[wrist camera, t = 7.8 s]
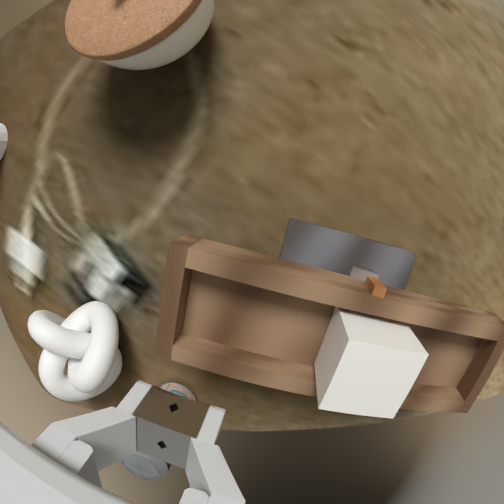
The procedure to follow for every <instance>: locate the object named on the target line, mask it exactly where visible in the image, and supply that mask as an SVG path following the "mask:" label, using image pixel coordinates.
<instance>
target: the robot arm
mask: <svg viewBox="0 0 504 504" xmlns="http://www.w3.org/2000/svg"><path fill="white" fill-rule="evenodd" d="M225 412H226V410H225V409H223V408H219V407H216V406H212V405H211V406H210V405H208V404H205V403H202V402H198V401H195V400H192V399H189V398H186V397H183V396H179V395H177V394H174V393H171V392H169V391H166V390H164V389H161V388H159V387H156V386H153V385H150V384H148V383H146V382H143V381H141V380H139V381H138V382H136V383H135V385H134V386H133V387H132V388H131V390H130V391H129V392H128V394H127V395H126V396H125V397H124V399H123V400H122V401H121V402H120V404H119V405H118V406H117V408H115V407H109V408H105V409H102V410H98V411H95V412H92V413H88V414H84V415H80V416H77V417H73V418H69V419H65V420H61V421H57V422H53V423H52V424H51V425H50V426H49V427H48V428H47V429H46V430H45V431H44V432H43V433H42V434H41V435H40V436H39V437H38V439H36V440H35V442H34V443H33V444H32V445H30V444H28V443H27V442H26V441H24V440H23V439H22V438H20V437H19V436H17V435H16V434H15V433H14V432H12V431H11V430H10V429H9V428H7V427H6V426H5V425H4V424H2V423H1V422H0V504H135V503H133V502H131V501H128V500H126V499H124V498H122V497H119V496H117V495H115V494H113V493H111V492H109V491H107V490H104V489H103V488H102V485H101V481H100V478H99V474H98V471H99V470H102V469H104V468H106V467H108V466H110V465H112V464H114V463H116V462H118V461H120V460H122V459H125V458H127V457H129V456H130V455H132V454H134V453H136V451H138V452H140V453H143V454H146V455H148V456H151V457H154V458H156V459H159V460H162V461H164V462H167V463H170V464H172V465H175V466H178V467H180V468H183V469H186V470H185V471H186V474H187V478H188V481H189V484H190V488H188V489H186V490H185V491H184V493H183V496H182V498H181V500H180V503H179V504H245V499H244V497H243V496H242V493H241V491H240V490H239V488H238V486H237V483H236V481H235V479H234V477H233V476H232V473H231V471H230V469H229V467H228V465H227V463H226V460H225V458H224V456H223V454H222V452H221V450H220V447H219V446H217V445H216V444H217V441H218V437H219V434H220V430H221V426H222V423H223V419H224V416H225Z"/></svg>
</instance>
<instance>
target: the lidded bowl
mask: <svg viewBox="0 0 504 504" xmlns="http://www.w3.org/2000/svg"><path fill="white" fill-rule="evenodd" d="M213 13H214V0H71V2H70V5H69V7H68V10H67V14H66V19H65V32H66V37H67V40H68V42H69V44H70V45H71V46H72V48H73V49H74V50H76V51H77V52H78V53H80V54H82V55H84V56H86V57H89V58H91V59H95V60H98V61H100V62H102V63H104V64H107V65H110V66H113V67H117V68H121V69H127V70H146V69H153V68H157V67H161V66H164V65H167V64H169V63H171V62H173V61H175V60H177V59H179V58H180V57H182V56H183V55H185V54H186V53H187V52H189V51H190V50H191V49H192V48H193V47H194V46H195V45H196V44H197V43H198V42H199V41H200V40H201V39H202V37H203V36H204V35H205V33H206V31H207V29H208V28H209V25H210V23H211V20H212V17H213Z"/></svg>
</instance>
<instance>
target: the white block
mask: <svg viewBox="0 0 504 504" xmlns="http://www.w3.org/2000/svg"><path fill="white" fill-rule="evenodd" d="M428 355H429V354H428V353H427V351H426V350H425V348H424V347H423V346H422V344H421V343H420V341H419V340H418V339H417V337H416V336H415V334H414V333H413V332H412V330H411V329H410V328H409V326H408V325H407V324H406V322H401V321H396V320H392V319H388V318H383V317H379V316H374V315H370V314H366V313H361V312H357V311H353V310H348V309H344V308H340V307H336V306H335V309H334V312H333V314H332V317H331V320H330V323H329V326H328V328H327V331H326V334H325V337H324V339H323V342H322V344H321V347H320V350H319V352H318V355H317V357H316V360H315V363H314V367H315V378H316V389H317V400H318V409H322V410H328V411H334V412H341V413H348V414H356V415H363V416H372V417H381V418H392V419H393V418H394V416H395V415H396V413H397V411H398V410H399V408H400V406H401V405H402V403H403V401H404V400H405V398H406V396H407V395H408V393H409V391H410V389H411V388H412V386H413V384H414V382H415V380H416V378H417V377H418V375H419V373H420V371H421V369H422V367H423V365H424V363H425V361H426V359H427V357H428Z"/></svg>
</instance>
